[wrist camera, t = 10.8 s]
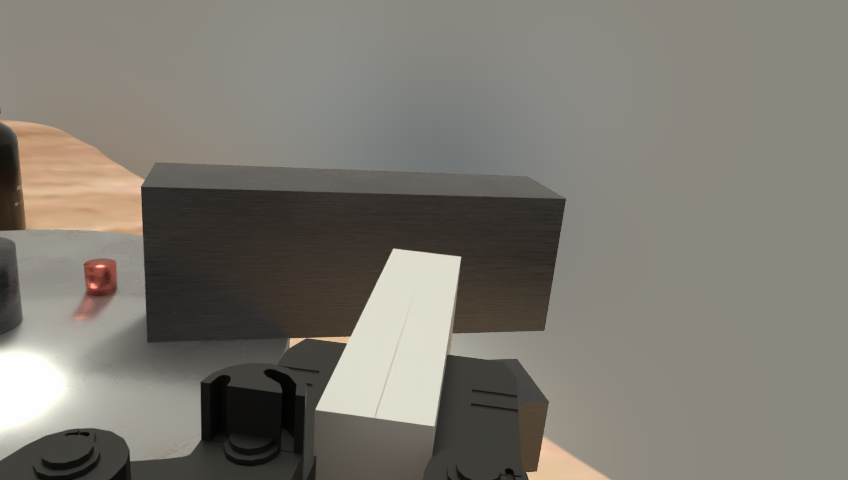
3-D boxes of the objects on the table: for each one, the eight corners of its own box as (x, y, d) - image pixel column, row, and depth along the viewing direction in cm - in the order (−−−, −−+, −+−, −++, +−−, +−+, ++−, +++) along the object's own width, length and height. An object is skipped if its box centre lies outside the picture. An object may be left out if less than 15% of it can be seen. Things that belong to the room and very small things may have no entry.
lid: (-1272, 746, 9) (-1686, 319, 7) (-267, 259, 26) (-306, 99, 24) (663, 517, 16) (720, 288, 15) (451, 260, 34) (465, 139, 32)
